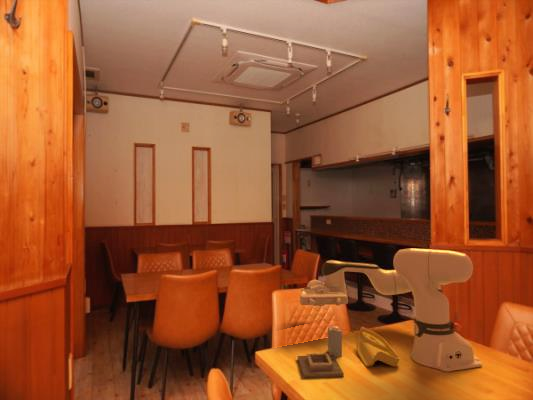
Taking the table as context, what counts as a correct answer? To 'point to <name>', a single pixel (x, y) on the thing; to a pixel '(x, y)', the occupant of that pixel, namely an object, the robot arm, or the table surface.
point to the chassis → (319, 366)
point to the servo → (335, 341)
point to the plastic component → (375, 349)
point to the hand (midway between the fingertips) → (326, 303)
